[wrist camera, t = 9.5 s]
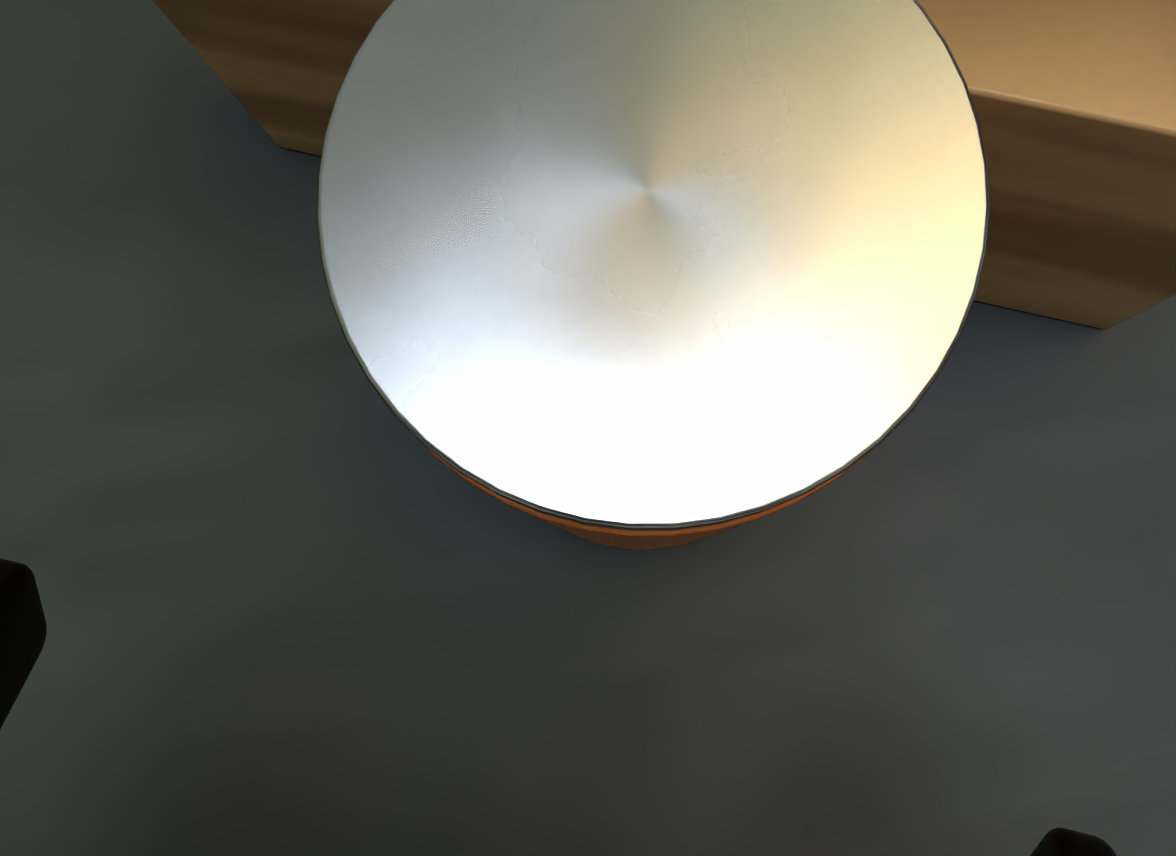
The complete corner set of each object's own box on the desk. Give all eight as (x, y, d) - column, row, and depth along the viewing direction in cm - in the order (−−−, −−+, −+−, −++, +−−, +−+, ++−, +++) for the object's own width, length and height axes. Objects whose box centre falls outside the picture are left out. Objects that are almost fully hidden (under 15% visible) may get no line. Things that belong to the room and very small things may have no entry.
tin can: (794, 559, 23) (989, 557, 10) (473, 539, 23) (278, 512, 10) (806, 246, 23) (1003, -118, 11) (496, 230, 24) (340, -140, 11)
